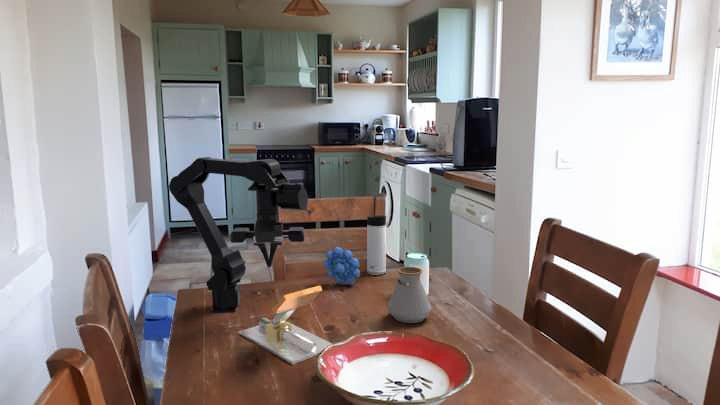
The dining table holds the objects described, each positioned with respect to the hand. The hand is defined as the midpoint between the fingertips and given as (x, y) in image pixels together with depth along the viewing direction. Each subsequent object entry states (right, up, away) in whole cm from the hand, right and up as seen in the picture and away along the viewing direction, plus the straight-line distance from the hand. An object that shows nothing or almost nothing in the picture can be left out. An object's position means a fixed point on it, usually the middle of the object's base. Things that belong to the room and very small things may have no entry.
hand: (269, 266), depth 139 cm
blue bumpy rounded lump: (+18, -9, +26) cm, 33 cm away
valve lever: (+4, -11, -13) cm, 18 cm away
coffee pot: (+35, -14, -5) cm, 39 cm away
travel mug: (+29, -7, +38) cm, 49 cm away
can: (+40, -11, +17) cm, 45 cm away
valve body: (+6, -16, -14) cm, 22 cm away
